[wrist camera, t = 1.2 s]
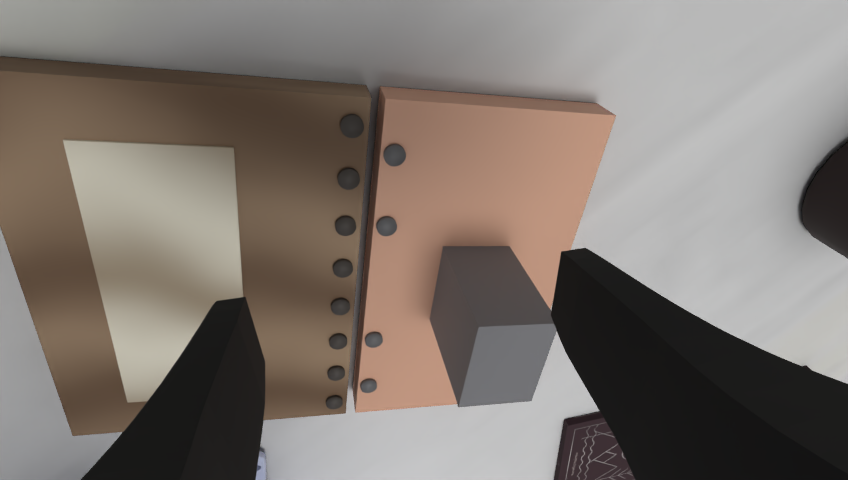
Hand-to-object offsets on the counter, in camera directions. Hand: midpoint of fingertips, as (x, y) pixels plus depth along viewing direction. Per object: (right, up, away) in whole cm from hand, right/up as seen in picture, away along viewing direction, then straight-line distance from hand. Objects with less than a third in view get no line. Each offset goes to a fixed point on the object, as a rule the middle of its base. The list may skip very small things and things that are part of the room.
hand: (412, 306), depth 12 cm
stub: (+2, 0, +12) cm, 12 cm away
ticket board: (-9, 0, +9) cm, 13 cm away
